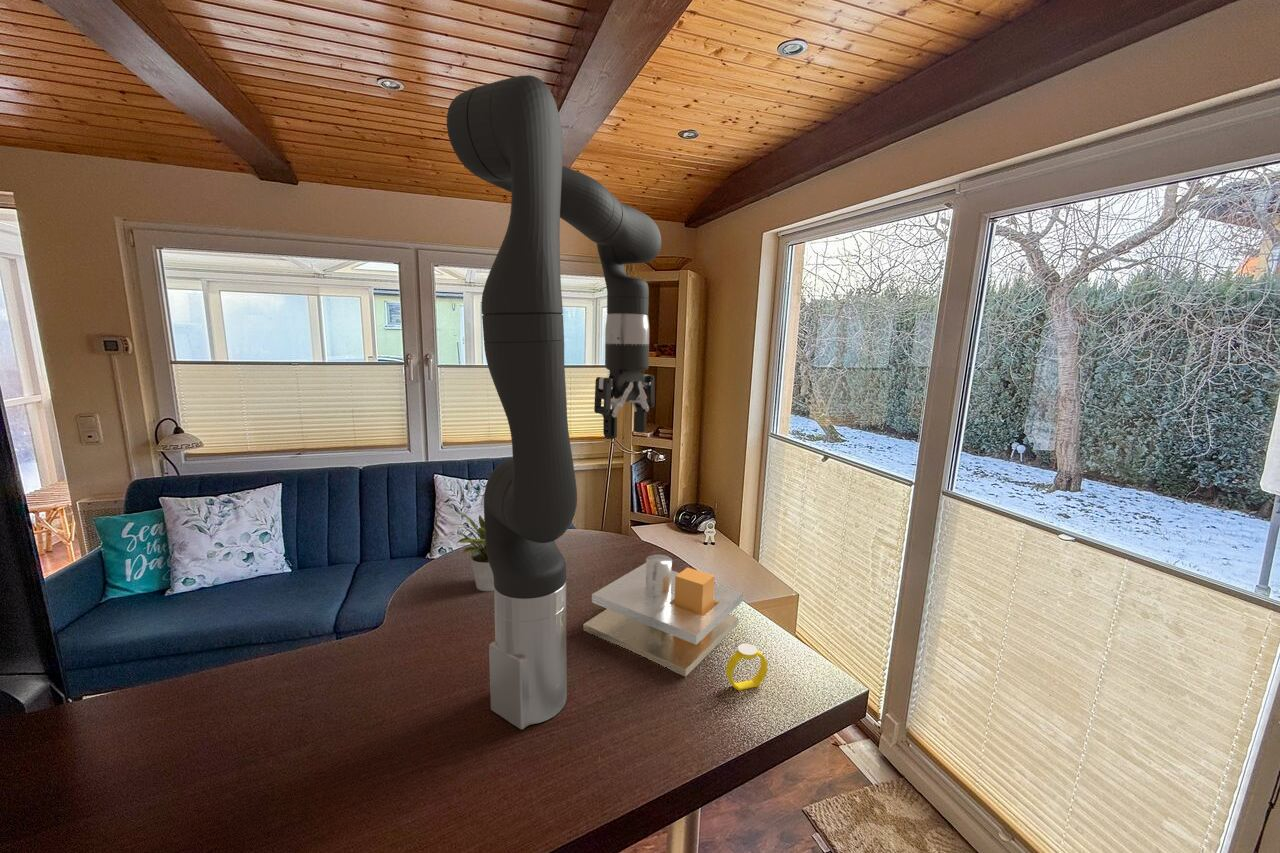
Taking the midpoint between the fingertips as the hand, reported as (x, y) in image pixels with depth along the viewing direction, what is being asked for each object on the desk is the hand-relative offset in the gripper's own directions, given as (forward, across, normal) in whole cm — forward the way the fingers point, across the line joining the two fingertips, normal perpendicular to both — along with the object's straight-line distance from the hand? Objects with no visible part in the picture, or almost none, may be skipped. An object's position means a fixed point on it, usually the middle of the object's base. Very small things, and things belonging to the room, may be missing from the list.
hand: (625, 435), depth 90 cm
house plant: (+32, -10, +27) cm, 43 cm away
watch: (+32, -8, -28) cm, 43 cm away
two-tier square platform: (+32, -2, -10) cm, 34 cm away
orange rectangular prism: (+31, -2, -16) cm, 35 cm away
